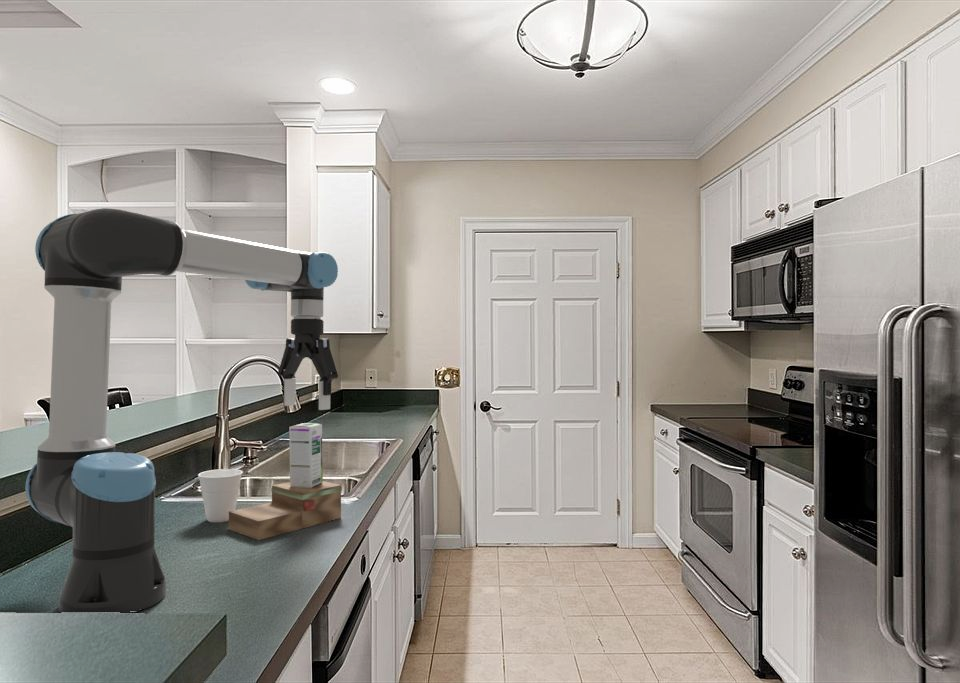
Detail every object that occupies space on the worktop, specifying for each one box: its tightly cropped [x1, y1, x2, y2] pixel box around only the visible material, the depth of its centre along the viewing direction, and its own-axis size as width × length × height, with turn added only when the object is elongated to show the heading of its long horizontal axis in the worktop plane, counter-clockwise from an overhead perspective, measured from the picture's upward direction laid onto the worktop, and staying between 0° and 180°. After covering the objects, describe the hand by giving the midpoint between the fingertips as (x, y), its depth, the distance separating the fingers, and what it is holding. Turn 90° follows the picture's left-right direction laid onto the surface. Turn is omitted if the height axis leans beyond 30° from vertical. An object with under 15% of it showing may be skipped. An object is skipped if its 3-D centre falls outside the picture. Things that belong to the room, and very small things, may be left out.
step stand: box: [228, 480, 343, 541], centre depth 151 cm, size 22×13×8 cm, turn 141°
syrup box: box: [288, 422, 324, 488], centre depth 155 cm, size 6×6×14 cm
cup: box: [197, 468, 244, 524], centre depth 154 cm, size 10×10×11 cm
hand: (306, 407), depth 155 cm, fingers open, 13 cm apart
